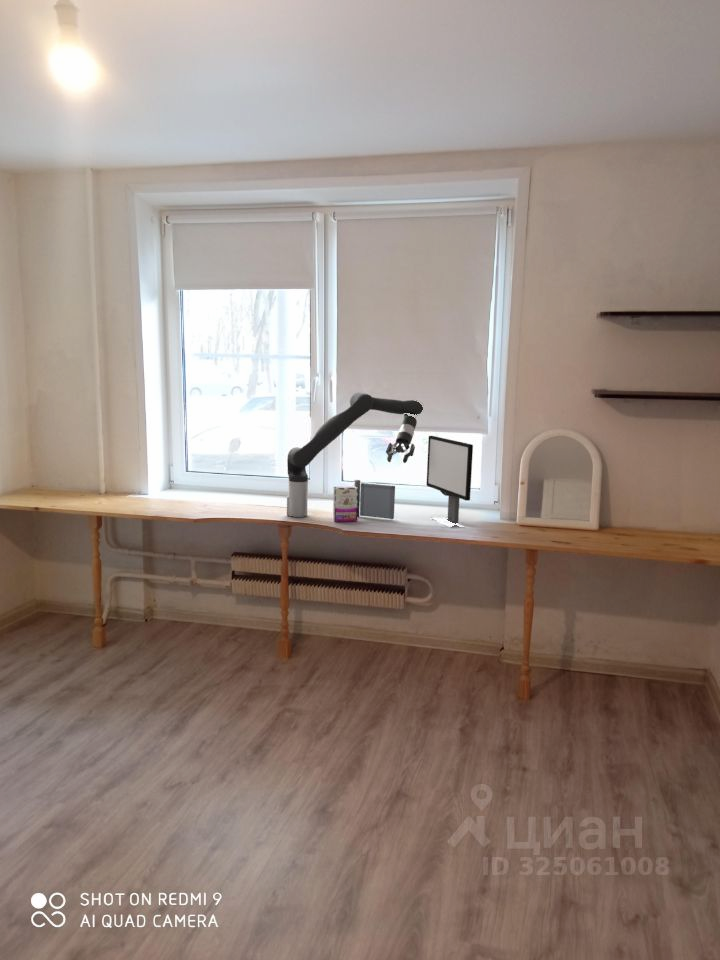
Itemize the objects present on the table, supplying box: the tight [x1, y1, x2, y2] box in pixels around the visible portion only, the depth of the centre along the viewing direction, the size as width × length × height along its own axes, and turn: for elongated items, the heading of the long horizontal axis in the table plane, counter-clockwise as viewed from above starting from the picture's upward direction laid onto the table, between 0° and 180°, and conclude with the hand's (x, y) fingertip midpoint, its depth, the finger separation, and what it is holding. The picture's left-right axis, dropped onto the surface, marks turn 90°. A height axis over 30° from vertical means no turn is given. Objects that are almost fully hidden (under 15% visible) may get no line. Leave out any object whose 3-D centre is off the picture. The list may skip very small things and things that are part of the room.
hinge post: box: [353, 479, 361, 518], centre depth 341 cm, size 3×3×18 cm
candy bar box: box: [332, 486, 358, 523], centre depth 331 cm, size 11×5×16 cm, turn 101°
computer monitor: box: [426, 435, 474, 529], centre depth 331 cm, size 41×8×40 cm, turn 21°
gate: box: [359, 482, 396, 520], centre depth 337 cm, size 17×2×16 cm, turn 69°
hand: (396, 461), depth 346 cm, fingers open, 8 cm apart
